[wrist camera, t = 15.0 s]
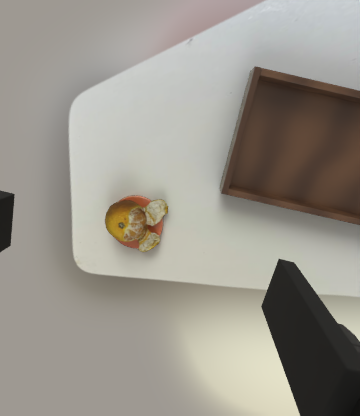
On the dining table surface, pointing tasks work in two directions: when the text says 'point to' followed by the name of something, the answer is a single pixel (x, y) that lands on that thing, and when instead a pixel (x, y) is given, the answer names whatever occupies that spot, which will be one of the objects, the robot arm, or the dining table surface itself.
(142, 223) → the fruit
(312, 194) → the bin
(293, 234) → the dining table surface
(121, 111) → the dining table surface
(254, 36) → the dining table surface
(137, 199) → the plate
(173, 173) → the dining table surface
